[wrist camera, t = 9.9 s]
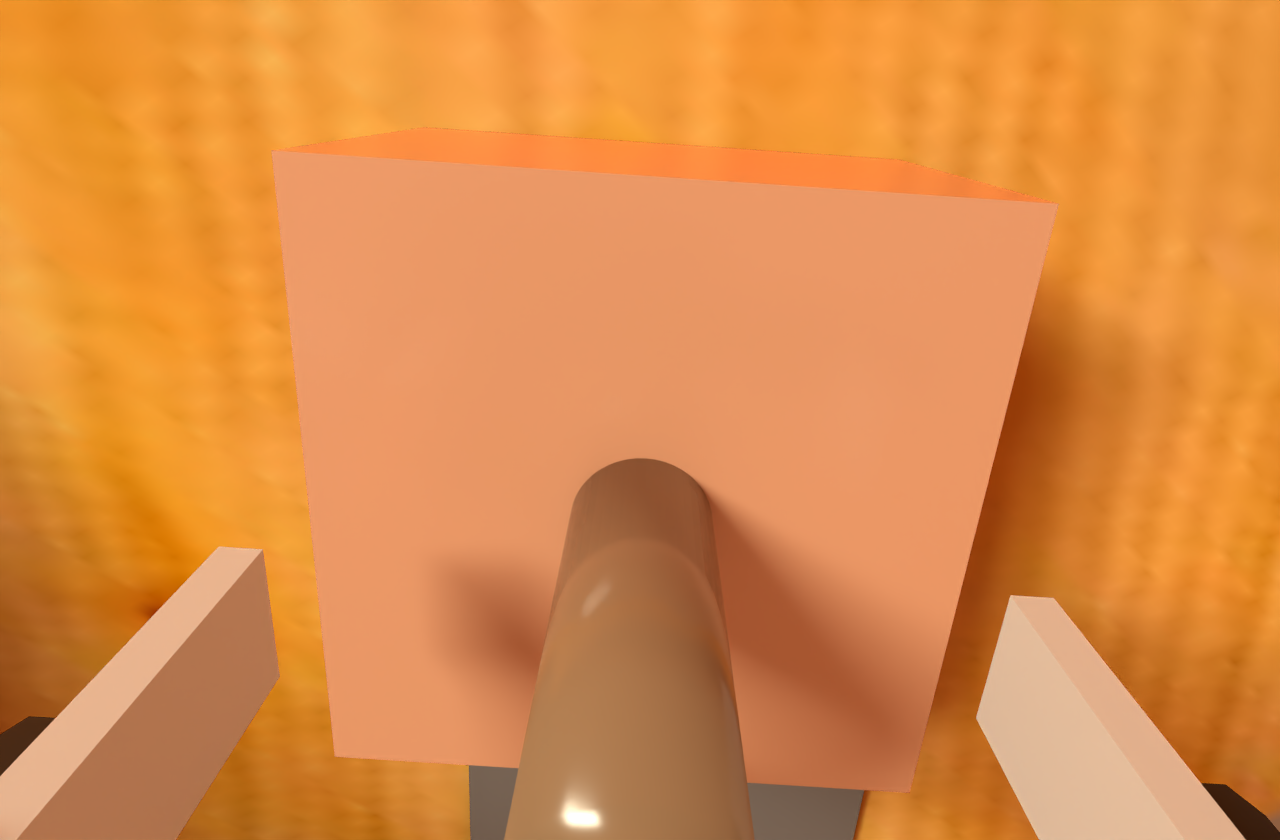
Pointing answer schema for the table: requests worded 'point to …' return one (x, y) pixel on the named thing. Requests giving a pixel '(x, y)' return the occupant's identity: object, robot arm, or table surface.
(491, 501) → the pink box with peg
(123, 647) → the robot arm
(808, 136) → the table surface
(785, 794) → the mat
